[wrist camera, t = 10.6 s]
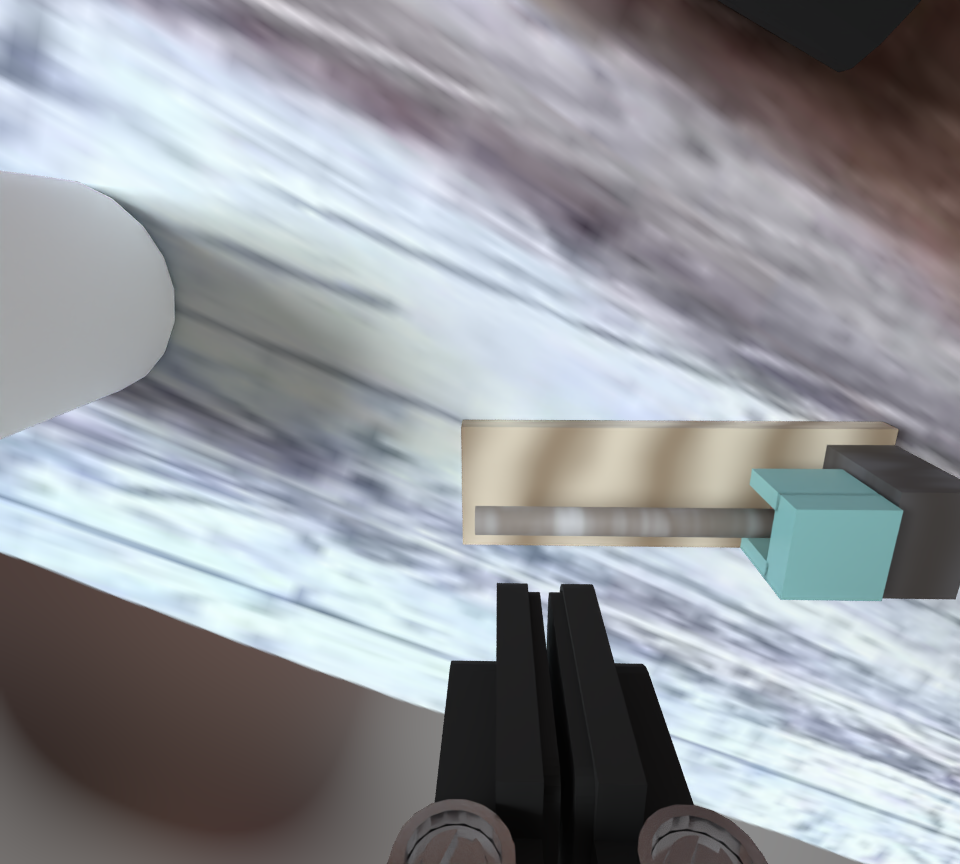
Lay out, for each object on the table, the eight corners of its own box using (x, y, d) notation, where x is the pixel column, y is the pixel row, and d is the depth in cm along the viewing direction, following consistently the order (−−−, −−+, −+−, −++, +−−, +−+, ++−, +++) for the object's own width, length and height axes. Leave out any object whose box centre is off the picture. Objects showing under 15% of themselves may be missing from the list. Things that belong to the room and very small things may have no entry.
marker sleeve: (842, 469, 33) (903, 510, 28) (826, 548, 35) (881, 600, 30) (752, 468, 33) (796, 509, 28) (740, 547, 35) (780, 599, 30)
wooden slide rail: (883, 421, 37) (991, 474, 29) (857, 537, 39) (951, 615, 31) (462, 419, 37) (452, 470, 29) (464, 533, 40) (455, 608, 32)
